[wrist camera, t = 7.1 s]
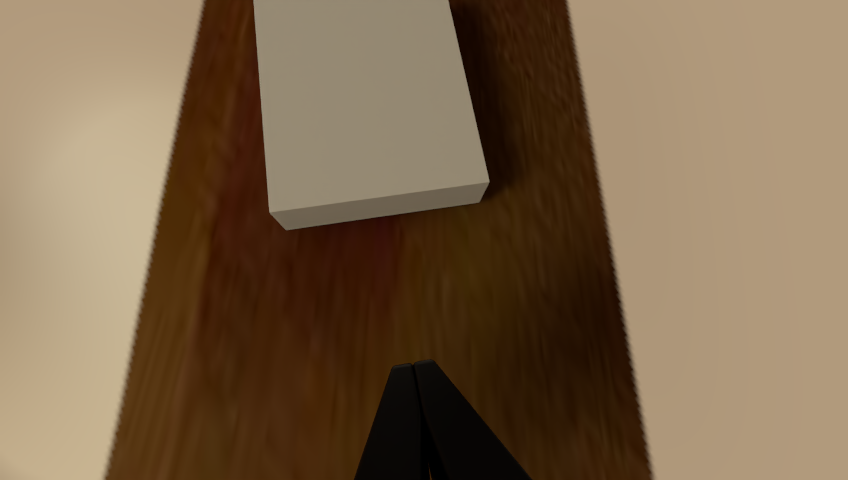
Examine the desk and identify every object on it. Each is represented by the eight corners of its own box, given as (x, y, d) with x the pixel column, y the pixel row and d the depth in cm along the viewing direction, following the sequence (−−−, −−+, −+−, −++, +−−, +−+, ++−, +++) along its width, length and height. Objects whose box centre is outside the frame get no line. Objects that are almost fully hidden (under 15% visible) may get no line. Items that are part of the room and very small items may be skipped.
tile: (489, 181, 17) (442, -25, 20) (269, 212, 16) (253, -9, 19) (478, 203, 19) (437, 16, 22) (286, 231, 19) (270, 33, 21)
